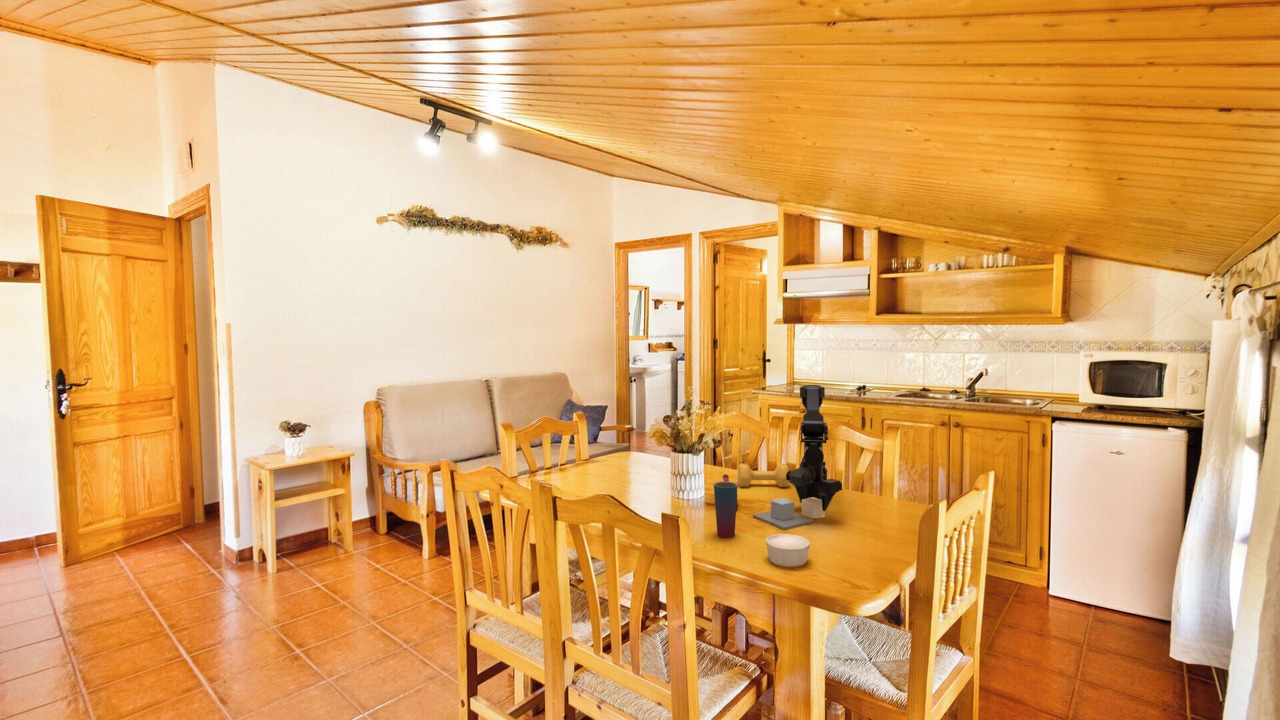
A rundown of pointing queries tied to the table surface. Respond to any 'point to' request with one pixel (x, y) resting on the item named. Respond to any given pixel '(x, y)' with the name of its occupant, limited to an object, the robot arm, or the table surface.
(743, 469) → the dumbbell
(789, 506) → the slate block
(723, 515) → the cup
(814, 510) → the cream block
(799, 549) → the ramekin
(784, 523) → the baseplate
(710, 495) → the table surface
